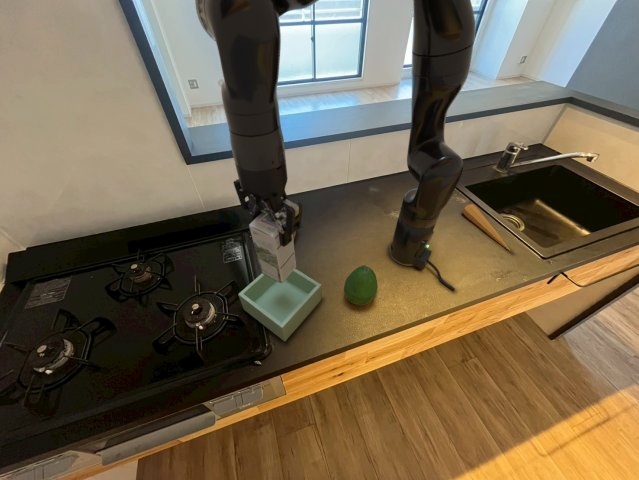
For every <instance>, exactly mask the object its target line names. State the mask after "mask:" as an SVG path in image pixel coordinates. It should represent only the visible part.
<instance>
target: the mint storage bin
mask: <svg viewBox="0 0 639 480" xmlns="http://www.w3.org/2000/svg"><path fill="white" fill-rule="evenodd" d="M238 298H239V301H240V303H241V307H242V309H243V310H244V311H245V312H246V313H247V314H249V315H250V316H251V317H252V318H254V319H255V320H257V321H258V322H259V323H260V324H262V325H263V326H264V327H266V329H268V330H269V331H270V332H271V333H273V334H274V335H276V336H277V337H278V338H279V339H280V340H282V341H283V342H287V340H288V339H289V338H290V337H291V336H292V334H293V333H294V332H296V330H297V328H299V326H300V325H301V324H302V323H303V322H304V320H306V318H307V317H308V316H309V315H310V314H311V312H312V311H314V309H315V308H317V306H318V305H319V303H320V302H321V301H322V284H321V283H319V282H318V281H316V280H315V279H312V278H311V277H309V276H308V275H306V274H305V273H303V272H302V271H300V270H298V269H297V268H295V269H294V270H293V271H292V273H291V274H290V275H289V276H288V277H287V278H286V280H285V281H284V282H283V283H282V284H281V283H279V282H277V281H275V280H273V279H272V278H270V277H268V276H266V275H264V274H262V273H260V274H259V275H258V276H257V277H256V278H255V279H253V281H251V282H250V283H249V284H248V285H247V286H245V288H244V289H242V290H241V291H240V292H239V293H238Z"/></svg>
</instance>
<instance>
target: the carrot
mask: <svg viewBox="0 0 639 480" xmlns="http://www.w3.org/2000/svg"><path fill="white" fill-rule="evenodd" d="M462 213H463V215H464V216H465V218H467V219H468V220H470V221H471V222H472V223H473V224H474V225H475V226H476V227H478V228H479V229H480V230H481V231H483V232H484V233H485V234H487V235H488V236H489V237H490V238H492V239H493V240H494V241H495V242H497V243H498V244H499V245H500V246H502V247H503V248H505V249H506V250H507V251H509V252H510V253H512V251H511V249H510V248H509V246H508V245H507V244H506V242H505V241H504V240H503V238H502V236H500V234H499V233H498V232H497V230H496V229H495V228H494V227H493V225H492V224H491V223H490V222H489V221H488V219H487V218H486V217H485V215H484V214H483V213H482V212H481V211H480V209H479V208H477V206H476V205H475V204H473V203H470V204H467V205H465V206H464V207H463V209H462Z"/></svg>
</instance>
